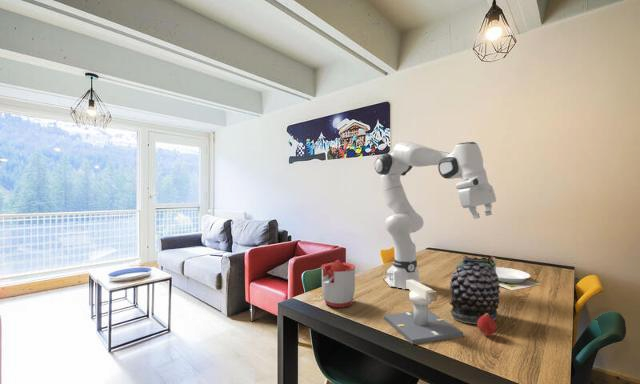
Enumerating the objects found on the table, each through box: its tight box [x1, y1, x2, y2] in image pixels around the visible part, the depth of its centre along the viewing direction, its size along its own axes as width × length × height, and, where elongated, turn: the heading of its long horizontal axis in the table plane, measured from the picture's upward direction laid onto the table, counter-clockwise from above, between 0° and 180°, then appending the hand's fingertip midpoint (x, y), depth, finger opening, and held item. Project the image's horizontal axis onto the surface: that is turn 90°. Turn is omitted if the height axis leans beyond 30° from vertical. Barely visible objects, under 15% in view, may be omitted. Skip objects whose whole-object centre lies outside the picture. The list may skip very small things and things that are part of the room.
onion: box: [476, 313, 498, 337], centre depth 100 cm, size 6×6×8 cm
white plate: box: [496, 266, 531, 284], centre depth 166 cm, size 25×25×4 cm
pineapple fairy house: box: [448, 255, 501, 325], centre depth 114 cm, size 21×15×25 cm
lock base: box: [383, 303, 464, 345], centre depth 107 cm, size 20×20×10 cm
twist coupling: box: [406, 279, 438, 306], centre depth 107 cm, size 15×8×6 cm, turn 14°
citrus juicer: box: [320, 259, 356, 308], centre depth 130 cm, size 16×17×20 cm
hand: (482, 216), depth 111 cm, fingers open, 8 cm apart
